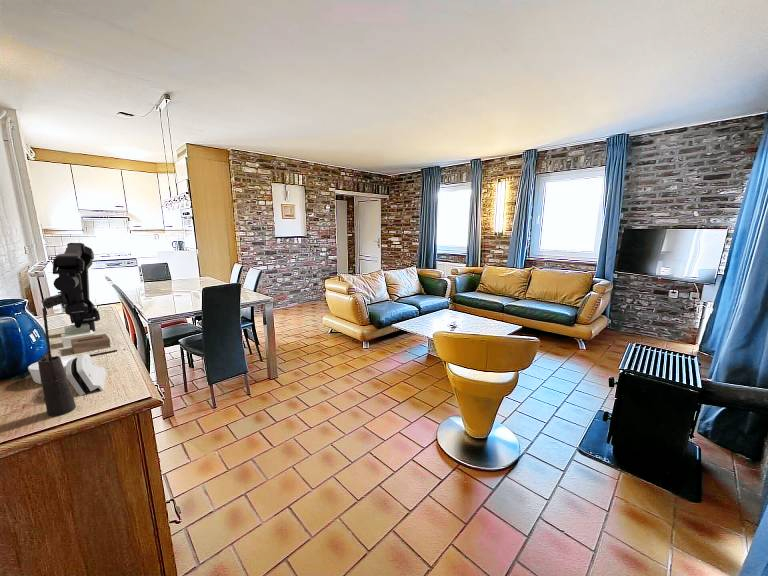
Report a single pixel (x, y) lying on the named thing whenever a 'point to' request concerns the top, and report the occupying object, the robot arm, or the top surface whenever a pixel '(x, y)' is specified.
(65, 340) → the holder
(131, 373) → the top surface
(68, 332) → the pale grey block
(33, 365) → the ramekin
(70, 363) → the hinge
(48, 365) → the butter churn
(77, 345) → the channel mount plate
